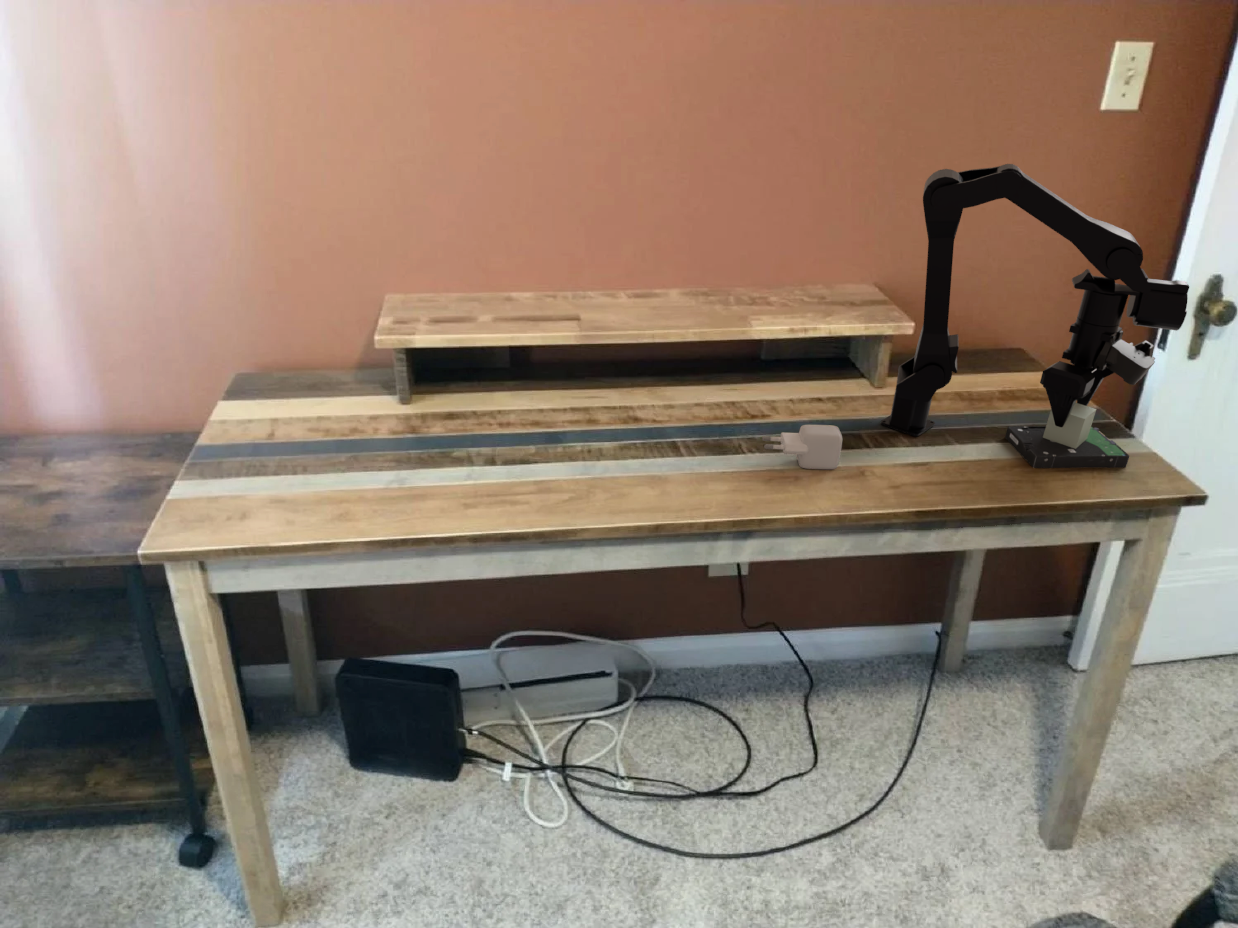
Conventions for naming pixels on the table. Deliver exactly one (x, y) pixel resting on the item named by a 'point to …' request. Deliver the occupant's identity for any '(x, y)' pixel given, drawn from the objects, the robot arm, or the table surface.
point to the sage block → (1071, 427)
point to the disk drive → (1065, 450)
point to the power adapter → (811, 446)
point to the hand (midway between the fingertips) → (1070, 417)
